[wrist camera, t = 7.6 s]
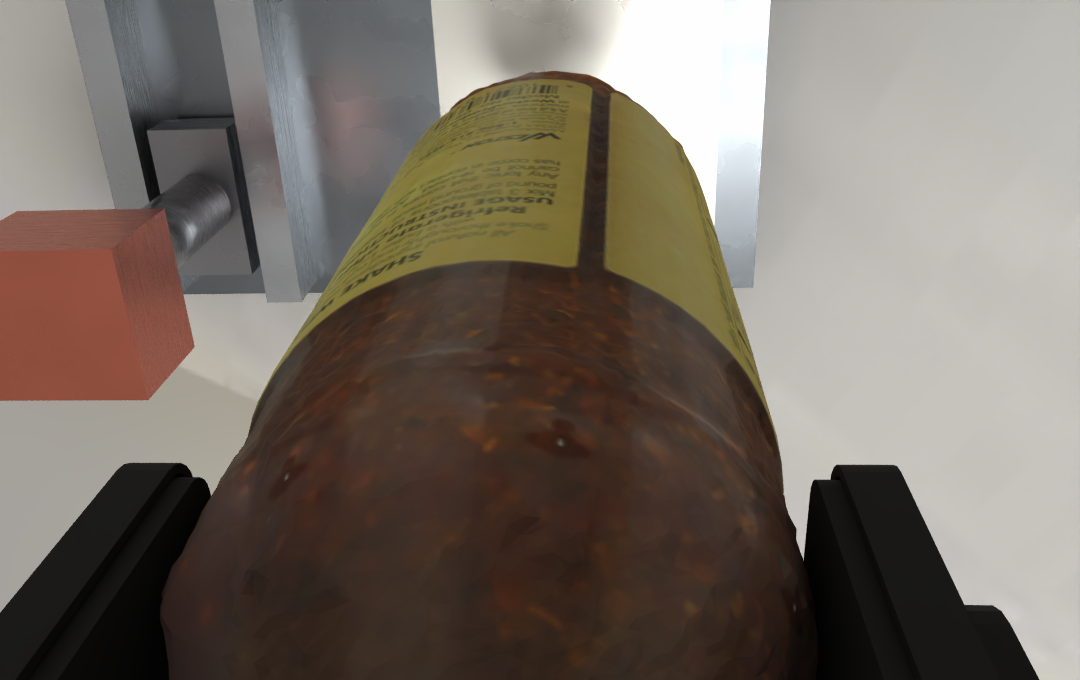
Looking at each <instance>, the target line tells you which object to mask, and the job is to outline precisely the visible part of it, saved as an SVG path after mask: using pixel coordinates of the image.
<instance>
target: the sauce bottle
mask: <svg viewBox="0 0 1080 680" xmlns="http://www.w3.org/2000/svg"><path fill="white" fill-rule="evenodd" d="M783 493H784V488H783V475H782V463H781V457H780V452H779V446H778V440H777V435H776V432H775V429H774V425H773V422H772V419H771V416H770V412H769V409H768V406H767V402H766V399H765V396H764V392H763V389H762V385H761V382H760V378H759V375H758V371H757V367H756V364H755V360H754V357H753V353H752V350H751V346H750V343H749V340H748V337H747V334H746V330H745V327H744V324H743V321H742V317H741V314H740V311H739V308H738V305H737V302H736V298H735V295H734V292H733V289H732V285H731V282H730V279H729V276H728V272H727V269H726V266H725V262H724V259H723V256H722V252H721V249H720V245H719V241H718V238H717V234H716V231H715V228H714V224H713V221H712V218H711V215H710V212H709V208H708V205H707V202H706V199H705V196H704V192H703V189H702V187H701V184H700V181H699V179H698V176H697V174H696V171H695V170H694V168H693V166H692V164H691V162H690V161H689V159H688V157H687V155H686V153H685V151H684V147H683V146H682V144H681V143H680V142H679V141H678V140H676V139H675V138H674V137H673V136H672V135H671V133H670V132H669V131H668V130H667V129H666V128H665V127H664V126H663V125H662V124H661V123H660V122H659V121H658V120H657V119H656V117H655V116H654V115H652V114H651V113H650V112H649V111H648V110H646V109H645V108H644V107H643V106H642V105H641V104H639V103H637V102H635V101H634V100H632V99H631V98H630V97H629V96H628V95H627V94H625V93H622V92H620V91H618V90H616V89H614V88H613V87H612V86H611V85H610V84H608V83H606V82H604V81H602V80H600V79H598V78H596V77H593V76H591V75H587V74H579V73H570V72H561V71H548V72H539V73H534V72H530V73H527V74H525V75H522V76H519V77H517V78H512V79H508V80H504V81H502V82H498V83H493V84H491V85H489V86H487V87H483V88H478V89H476V90H474V91H472V92H471V93H470V94H468V95H467V96H466V97H465V98H463V99H461V100H459V101H458V102H457V103H455V105H454V106H453V107H451V109H450V111H449V112H447V113H446V114H445V115H443V116H442V117H441V118H440V119H439V120H438V121H436V122H435V123H434V124H433V125H432V126H431V127H430V128H429V129H428V130H427V131H426V132H425V133H424V134H423V135H422V137H421V138H420V139H419V141H418V142H417V144H416V145H415V146H414V148H413V149H412V150H411V152H410V153H409V154H408V156H407V158H406V159H405V161H404V162H403V164H402V166H401V167H400V169H399V171H398V172H397V174H396V175H395V177H394V179H393V180H392V182H391V184H390V185H389V187H388V188H387V190H386V192H385V193H384V195H383V197H382V198H381V200H380V202H379V203H378V205H377V207H376V208H375V210H374V212H373V213H372V215H371V216H370V218H369V220H368V221H367V223H366V224H365V226H364V227H363V229H362V230H361V232H360V233H359V235H358V237H357V238H356V240H355V241H354V243H353V244H352V246H351V247H350V249H349V250H348V252H347V254H346V256H345V257H344V259H343V261H342V262H341V264H340V266H339V267H338V269H337V271H336V272H335V274H334V276H333V277H332V279H331V281H330V282H329V284H328V286H327V287H326V289H325V290H324V292H323V294H322V295H321V297H320V299H319V300H318V302H317V304H316V306H315V308H314V309H313V311H312V312H311V314H310V316H309V317H308V319H307V320H306V322H305V323H304V325H303V326H302V328H301V330H300V331H299V333H298V334H297V336H296V337H295V339H294V341H293V342H292V344H291V345H290V347H289V348H288V350H287V351H286V353H285V355H284V356H283V358H282V359H281V361H280V362H279V364H278V366H277V367H276V369H275V370H274V372H273V374H272V376H271V378H270V380H269V382H268V384H267V386H266V387H265V389H264V391H263V393H262V395H261V397H260V399H259V401H258V403H257V406H256V409H255V412H254V414H253V417H252V422H251V426H250V430H249V434H248V437H247V439H246V442H245V444H244V446H243V447H242V449H241V450H240V451H239V453H238V454H237V455H236V456H235V457H234V459H233V461H232V462H231V464H230V465H229V467H228V469H227V471H226V472H225V474H224V475H223V477H222V478H221V479H220V481H219V484H218V486H217V488H216V490H215V491H214V493H213V494H212V496H211V498H210V499H209V501H208V502H207V504H206V506H205V507H204V509H203V510H202V512H201V514H200V517H199V519H198V522H197V524H196V527H195V529H194V530H193V532H192V534H191V535H190V537H189V538H188V541H187V543H186V545H185V547H184V550H183V552H182V554H181V555H180V557H179V558H178V559H177V561H176V562H175V563H174V564H173V566H172V568H171V570H170V573H169V575H168V578H167V580H166V583H165V586H164V588H163V591H162V593H161V596H162V603H161V605H160V622H161V625H162V628H163V631H164V637H165V644H166V651H167V658H168V665H169V680H816V674H817V665H818V661H819V659H818V650H819V641H818V634H817V627H816V622H815V606H814V602H813V598H812V592H811V589H810V587H809V580H808V573H807V570H806V567H805V564H804V561H803V558H802V555H801V553H800V550H799V547H798V544H797V541H796V527H795V526H794V524H793V522H792V520H791V518H790V516H789V514H788V511H787V508H786V504H785V497H784V495H783Z"/></svg>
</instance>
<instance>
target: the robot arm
mask: <svg viewBox="0 0 1080 680" xmlns="http://www.w3.org/2000/svg"><path fill="white" fill-rule="evenodd" d="M210 498H211V494H210V490H209V487H208V484H207V483H206V481H205V480H204V479H202V478H200V477H192V473H191V471H190V470H189V469H188V467H187V466H186V465H184V464H182V463H128V464H124V465H123V466H121V467H120V468H119V469H118V470H117V471H116V472H115V473H114V475H113V476H112V477H111V478H110V480H109V481H108V482H107V483H106V485H105V486H104V487H103V488H102V489H101V491H100V492H99V493H98V494H97V495H96V497H95V498H94V499H93V500H92V501H91V503H90V504H89V505H88V506H87V508H86V509H85V510H84V511H83V512H82V514H81V515H80V516H79V517H78V519H77V520H76V521H75V522H74V523H73V525H72V526H71V527H70V528H69V530H68V531H67V532H66V533H65V534H64V536H63V537H62V538H61V540H60V541H59V542H58V543H57V544H56V545H55V547H54V548H53V549H52V550H51V551H50V553H49V554H48V556H46V558H45V559H44V560H43V561H42V562H41V564H40V565H39V566H38V567H37V569H36V570H35V571H34V572H33V574H32V575H31V576H30V577H29V579H28V580H27V581H26V582H25V583H24V584H23V586H22V587H21V588H20V589H19V591H18V592H17V593H16V594H15V595H14V597H13V598H12V599H11V600H10V602H9V603H8V604H7V605H6V606H5V608H4V609H3V610H2V611H1V613H0V680H169V665H168V658H167V651H166V644H165V637H164V631H163V628H162V625H161V622H160V605H161V603H162V596H161V593H162V591H163V588H164V586H165V583H166V580H167V578H168V575H169V573H170V570H171V568H172V566H173V564H174V563H175V562H176V561H177V559H178V558H179V557H180V555H181V554H182V552H183V550H184V547H185V545H186V543H187V541H188V538H189V537H190V535H191V534H192V532H193V530H194V529H195V527H196V524H197V522H198V519H199V517H200V514H201V512H202V510H203V509H204V507H205V506H206V504H207V502H208V501H209V499H210ZM804 564H805V567H806V570H807V573H808V580H809V587H810V589H811V592H812V598H813V602H814V606H815V622H816V627H817V634H818V641H819V650H818V659H819V661H818V665H817V674H816V680H1039V678H1038V676H1037V674H1036V672H1035V671H1034V669H1033V667H1032V665H1031V663H1030V661H1029V659H1028V657H1027V655H1026V653H1025V651H1024V650H1023V648H1022V646H1021V644H1020V642H1019V640H1018V638H1017V636H1016V634H1015V632H1014V630H1013V629H1012V627H1011V625H1010V623H1009V622H1008V620H1007V619H1006V617H1005V616H1004V614H1003V613H1002V611H1000V610H999V609H997V608H996V607H994V606H992V605H964V603H963V601H962V599H961V597H960V595H959V593H958V591H957V589H956V587H955V584H954V582H953V580H952V578H951V576H950V574H949V572H948V570H947V568H946V566H945V563H944V561H943V559H942V557H941V555H940V553H939V551H938V549H937V547H936V545H935V542H934V540H933V538H932V536H931V534H930V532H929V530H928V528H927V526H926V524H925V521H924V519H923V517H922V515H921V513H920V511H919V509H918V507H917V505H916V503H915V500H914V498H913V496H912V494H911V492H910V490H909V488H908V486H907V484H906V481H905V479H904V477H903V475H902V473H901V471H900V470H899V468H898V467H897V466H895V465H836V466H835V467H834V468H833V471H832V474H831V480H814V481H813V483H812V486H811V492H810V501H809V511H808V521H807V532H806V542H805V552H804Z"/></svg>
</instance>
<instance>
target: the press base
mask: <svg viewBox="0 0 1080 680" xmlns="http://www.w3.org/2000/svg"><path fill="white" fill-rule="evenodd" d="M65 1H66V5H67V9H68V13H69V17H70V22H71V26H72V30H73V34H74V38H75V42H76V46H77V51H78V55H79V59H80V63H81V67H82V71H83V76H84V80H85V84H86V88H87V92H88V96H89V101H90V105H91V109H92V113H93V117H94V121H95V125H96V130H97V134H98V138H99V142H100V146H101V150H102V155H103V159H104V163H105V167H106V171H107V175H108V180H109V184H110V188H111V192H112V196H113V200H114V205H115V209H141V208H143V207H144V206H145V205H147V204H148V203H150V202H151V201H152V200H154V199H155V198H156V197H158V196H159V195H161V194H160V189H159V185H158V180H157V176H156V171H155V167H154V162H153V157H152V153H151V148H150V144H149V139H148V134H147V130H149V129H151V128H152V127H154V126H156V125H158V124H159V123H161V122H163V121H165V120H166V119H191V118H231V117H235V123H236V129H237V134H238V140H239V145H240V151H241V157H242V162H243V168H244V174H245V179H246V185H247V191H248V196H249V202H250V208H251V213H252V219H253V225H254V230H255V236H256V241H257V247H258V253H259V258H260V264H261V265H260V266H259V267H258V268H257V269H256V271H255V272H254V273H253V274H248V275H179V277H180V282H181V287H182V291H183V294H235V293H266V298H267V302H302V300H303V299H304V298H305V296H306V295H307V293H323V292H324V290H325V289H326V287H327V286H328V284H329V282H330V281H331V279H332V277H333V276H334V274H335V272H336V271H337V269H338V267H339V266H340V264H341V262H342V261H343V259H344V257H345V256H346V254H347V252H348V250H349V249H350V247H351V246H352V244H353V243H354V241H355V240H356V238H357V237H358V235H359V233H360V232H361V230H362V229H363V227H364V226H365V224H366V223H367V221H368V220H369V218H370V216H371V215H372V213H373V212H374V210H375V208H376V207H377V205H378V203H379V202H380V200H381V198H382V197H383V195H384V193H385V192H386V190H387V188H388V187H389V185H390V184H391V182H392V180H393V179H394V177H395V175H396V174H397V172H398V171H399V169H400V167H401V166H402V164H403V162H404V161H405V159H406V158H407V156H408V154H409V153H410V152H411V150H412V149H413V148H414V146H415V145H416V144H417V142H418V141H419V139H420V138H421V137H422V135H423V134H424V133H425V132H426V131H427V130H428V129H429V128H430V127H431V126H432V125H433V124H434V123H435V122H436V121H438V120H439V119H440V118H441V117H442V116H443V115H445V114H446V113H447V112H449V111H450V109H451V107H453V106H454V105H455V103H457V102H458V101H459V100H461V99H463V98H465V97H466V96H467V95H468V94H470V93H471V92H472V91H474V90H476V89H478V88H483V87H487V86H489V85H491V84H493V83H498V82H502V81H504V80H508V79H512V78H517V77H519V76H522V75H525V74H527V73H530V72H534V73H539V72H548V71H561V72H570V73H579V74H587V75H591V76H593V77H596V78H598V79H600V80H602V81H604V82H606V83H608V84H610V85H611V86H612V87H613V88H614V89H616V90H618V91H620V92H622V93H625V94H627V95H628V96H629V97H630V98H631V99H632V100H634V101H635V102H637V103H639V104H641V105H642V106H643V107H644V108H645V109H646V110H648V111H649V112H650V113H651V114H652V115H654V116H655V117H656V119H657V120H658V121H659V122H660V123H661V124H662V125H663V126H664V127H665V128H666V129H667V130H668V131H669V132H670V133H671V135H672V136H673V137H674V138H675V139H676V140H678V141H679V142H680V143H681V144H682V146H683V147H684V151H685V153H686V155H687V157H688V159H689V161H690V162H691V164H692V166H693V168H694V170H695V171H696V174H697V176H698V179H699V181H700V184H701V187H702V189H703V192H704V196H705V199H706V202H707V205H708V208H709V212H710V215H711V218H712V221H713V224H714V228H715V231H716V234H717V238H718V241H719V245H720V249H721V252H722V256H723V259H724V262H725V266H726V269H727V272H728V276H729V279H730V282H731V285H732V288H753V281H754V265H755V248H756V232H757V215H758V199H759V182H760V166H761V149H762V133H763V116H764V100H765V83H766V67H767V50H768V34H769V17H770V1H771V0H65Z"/></svg>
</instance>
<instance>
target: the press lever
mask: <svg viewBox="0 0 1080 680" xmlns="http://www.w3.org/2000/svg"><path fill="white" fill-rule="evenodd" d="M147 134H148V139H149V144H150V148H151V153H152V157H153V162H154V167H155V171H156V176H157V180H158V185H159V189H160V194H161V195H159V196H158V197H156V198H155V199H154V200H152V201H151V202H150V203H148V204H147V205H145V206H144V207H143V208H141V209H112V210H58V211H17V212H15V213H13V214H11V215H10V216H8V217H6V218H4V219H3V220H1V221H0V401H2V400H3V401H4V400H149V398H150V397H151V396H152V395H153V394H154V393H155V392H156V391H157V389H158V388H159V387H160V386H161V385H162V383H163V382H164V381H165V380H166V379H167V378H168V377H169V376H170V374H171V373H172V372H173V371H174V370H175V369H176V368H177V366H178V365H179V364H180V363H181V362H182V361H183V360H184V358H185V357H186V356H187V355H188V354H189V353H190V352H191V350H192V349H193V348H194V347H195V346H194V342H193V337H192V333H191V328H190V323H189V319H188V314H187V310H186V305H185V300H184V296H183V291H182V287H181V282H180V277H179V275H248V274H253V273H254V272H255V271H256V269H257V268H258V267H259V266H260V265H261V264H260V258H259V253H258V247H257V241H256V236H255V230H254V225H253V219H252V213H251V208H250V202H249V196H248V191H247V185H246V179H245V174H244V168H243V162H242V157H241V151H240V145H239V140H238V134H237V129H236V123H235V117H231V118H191V119H166V120H165V121H163V122H161V123H159V124H158V125H156V126H154V127H152V128H151V129H149V130H147Z"/></svg>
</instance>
